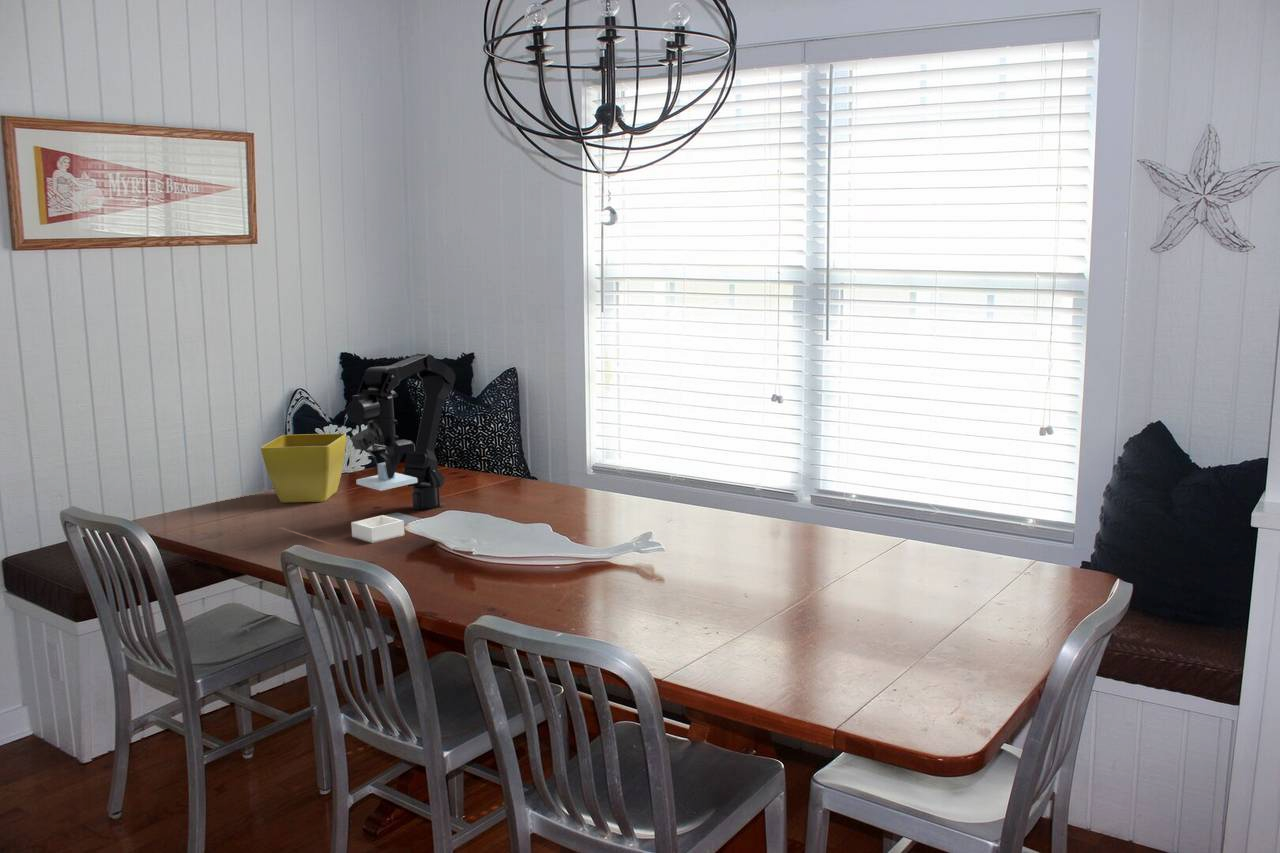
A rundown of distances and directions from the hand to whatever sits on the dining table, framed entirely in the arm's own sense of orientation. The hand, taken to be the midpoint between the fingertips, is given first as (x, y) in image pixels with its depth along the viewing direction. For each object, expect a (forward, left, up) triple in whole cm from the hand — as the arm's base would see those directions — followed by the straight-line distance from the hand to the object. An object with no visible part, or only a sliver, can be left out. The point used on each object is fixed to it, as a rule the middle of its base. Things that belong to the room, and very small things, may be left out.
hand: (386, 477), depth 278 cm
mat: (0, 0, -12) cm, 12 cm away
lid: (0, 0, -2) cm, 2 cm away
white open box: (+10, +10, -12) cm, 18 cm away
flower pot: (-2, -44, -12) cm, 46 cm away
